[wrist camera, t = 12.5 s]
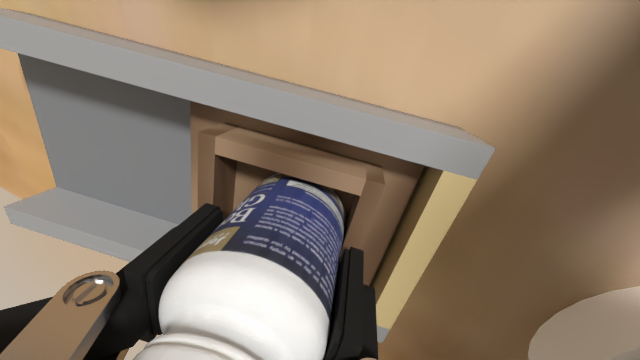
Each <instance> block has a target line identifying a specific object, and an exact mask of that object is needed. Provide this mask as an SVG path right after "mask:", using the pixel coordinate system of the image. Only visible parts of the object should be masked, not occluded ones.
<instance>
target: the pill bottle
mask: <svg viewBox="0 0 640 360" xmlns="http://www.w3.org/2000/svg"><path fill="white" fill-rule="evenodd" d="M344 229H345V212H344V208H343V204H342V202H341V200H340V198H339V196H338V195H337V193H336V192H335V191H334V190H333V188H331V187H327V186H324V185H320V184H317V183H313V182H310V181H306V180H303V179H299V178H296V177H293V176H289V175H286V174H282V173H277V174H274V175H272V176H270V177H268V178H267V179H265V180H264V181H263V182H262V183H260V184H259V185H258V186H257V187H256V188H255V189H254V190H253V191H252V192H251V193H250V194H249V195H248V196H247V197H246V198H245V199H244V201H243V202H242V203H241V204H240V205H239V206H238V207H237V208H236V209H235V210H234V211H232V213H231V214H230V215H229V216H228V217H227V218H226V219H225V220H224V221H223V222H222V223H221V224H220V225H219V226H218V227H217V229H216V230H215V231H214V232H213V233H212V234H211V235H210V236H209V237H208V238H207V239H206V240H205V241H204V242H203V243H202V244H201V245H200V246H199V247H198V248H197V249H196V250H195V251H194V252H193V254H191V255H190V256H189V257H188V258H187V259H186V260H185V262H184V263H183V264H182V265H181V266H180V267H179V269H178V270H177V271H176V272H175V273H174V274H173V276H172V277H171V278H170V280H169V281H168V282H167V284H166V286H165V288H164V290H163V292H162V295H161V298H160V303H159V323H160V328H161V331H162V334H163V335H161V336H159V337H156V338H154V339H153V340H152V341H150V342H149V343H148V344H147V345H146V346H145V348H144V349H143V351H141V352H140V353H139V354H137V355H136V357H135V358H134V359H133V360H323V358H324V356H325V352H326V348H327V344H328V338H329V333H330V327H331V320H332V313H333V306H334V299H335V291H336V284H337V277H338V270H339V264H340V257H341V250H342V243H343V236H344Z"/></svg>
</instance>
